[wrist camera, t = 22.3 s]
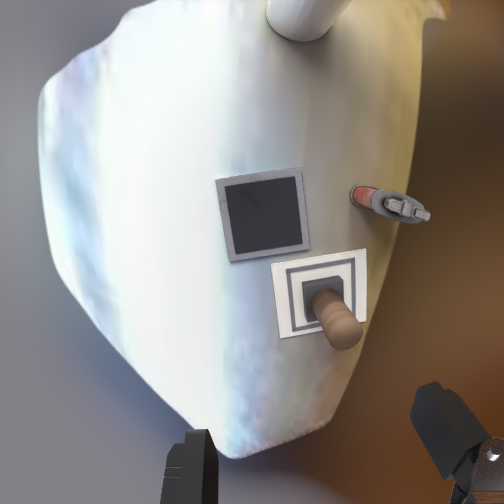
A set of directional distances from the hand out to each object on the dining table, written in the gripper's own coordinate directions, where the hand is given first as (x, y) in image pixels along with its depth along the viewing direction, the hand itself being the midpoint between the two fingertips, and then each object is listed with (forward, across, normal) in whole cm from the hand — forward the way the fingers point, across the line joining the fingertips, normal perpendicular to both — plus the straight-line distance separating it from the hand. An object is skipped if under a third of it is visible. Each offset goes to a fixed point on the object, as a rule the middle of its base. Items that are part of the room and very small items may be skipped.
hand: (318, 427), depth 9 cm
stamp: (+32, -8, +12) cm, 35 cm away
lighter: (+33, -17, -2) cm, 37 cm away
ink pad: (+33, -1, -1) cm, 33 cm away
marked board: (+32, -8, +12) cm, 35 cm away
